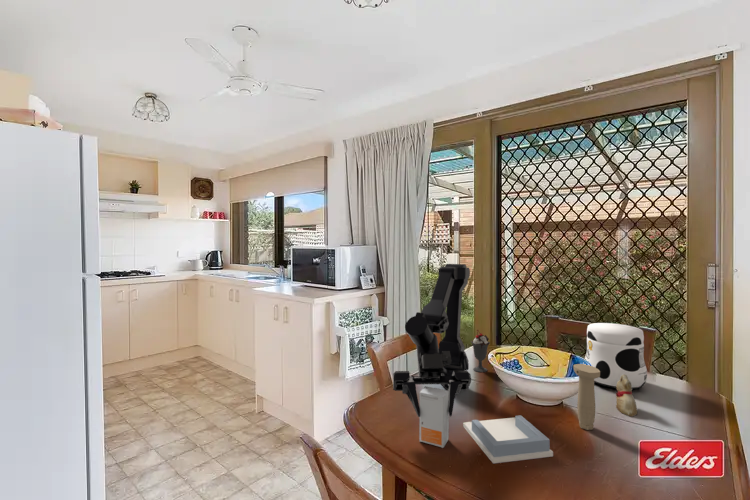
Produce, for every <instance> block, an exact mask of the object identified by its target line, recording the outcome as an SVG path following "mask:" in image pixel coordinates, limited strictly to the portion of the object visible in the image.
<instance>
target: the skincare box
mask: <svg viewBox="0 0 750 500" xmlns="http://www.w3.org/2000/svg"><path fill="white" fill-rule="evenodd" d="M418 395H419V397H418V403H419V408H420V417H418V418H419V425H418V426H419V429H418V430H419V433H418V434H419V435H418V438H419V443H425V444H429V445H432V446H436V447H439V448H442V449H443V448H445V446H446V444H447V442H448V441H449V429H450V428H449V419H450V416H449V391H448V390H447V389H443V388H442V389H441V388H437V387H430V386H424V387H423V388H422V389H420V391H419V393H418Z"/></svg>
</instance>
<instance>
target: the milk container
mask: <svg viewBox="0 0 750 500" xmlns="http://www.w3.org/2000/svg"><path fill="white" fill-rule="evenodd" d="M644 335H645V334H644V330H643V329H641V328H639V327H635V326H632V325H628V324H622V323H621V324H620V323H611V322H595V323H589V324H588V325H587V328H586V354H585V356H584V359H586V360H587V361H589V362H590V363H591V365H592V366H593V367H595V368H597V369H599V371H600V377H598V378H595V379H594V384H598V385H600V386H604V387H608V388H612V389H617V388H616V386H617V382H618V381H619V380H620V377H621V375H627V377H628V379H629V381H630V382H631V385H632V386H631V387H632V390H637V389H639V388H642V387H643V386H644V385H645V384H646V383H647V379H648V378H647V377H648V369H647V366H646V362H645V359H644V356H645V355H644V353H645V352H644V351H645V344H644V341H645V336H644Z"/></svg>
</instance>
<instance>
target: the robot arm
mask: <svg viewBox="0 0 750 500" xmlns="http://www.w3.org/2000/svg"><path fill="white" fill-rule="evenodd" d="M470 275H471V270H470V267H467V265H466V264H465V263H447V264H445V266H439V268H438V277H437V280H436V283H435V286H434V289H433V292H432V295H431V298H430V301H429V303H427V304H425V305H424V306H423V307H422V309H421V312H420V311H419V312H416V313H415V315H414V316H411V317H410V318H409V319H407V321H406V322H405V324H404V325H405V326H404V328H405V330H404V331H405V332H406V333H407V335H408V337H409V338H410V340H411V341H412V342H413V344H415V345H416V357H417V366H418V375H411V374H410V373H411V372H410V371H409V370H395V371H394V373H393V375H392V389H393V391H396V392H401V393H402V394H403V395H406V396H407V398H408V399H409V401H410V402H411V405H412V406H413V408H414V411H415V413H416V416H417V417H418V418H419V417H420V408H419V397H418V394H417V385H442V387H444V389H445V390H448V391H449V418H450V417H452V416H453V410H454V404H455V399H456V395H457V394H460V393H461V391H467V390H469V388H470V385H471V382H472V377H471V373H470V372H469V368H470V367H469V366H470V365H469V364H470V363H469V358H468V355H467V353H466V351H465V344H464V343H463V340H462V339H461V322H462V321H461V320H462V304H463V303H462V301H463V291H464V290H465V288H466V287H467V285H468V284H469V283H468V282H469V281H468V280H469V278H470ZM443 333H444V337H443V338H442V340H440V341H439V342H438V340H439V339H438V336H437V334H443Z"/></svg>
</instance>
